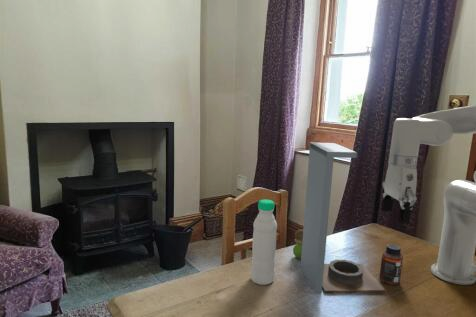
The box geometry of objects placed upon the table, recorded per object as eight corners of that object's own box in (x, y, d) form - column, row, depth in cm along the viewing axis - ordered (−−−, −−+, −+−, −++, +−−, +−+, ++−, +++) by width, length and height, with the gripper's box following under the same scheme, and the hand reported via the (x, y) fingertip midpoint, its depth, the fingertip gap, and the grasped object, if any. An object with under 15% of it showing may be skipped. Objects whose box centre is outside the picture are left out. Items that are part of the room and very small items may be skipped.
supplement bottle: (401, 287, 106) (406, 252, 104) (381, 284, 108) (385, 249, 105) (397, 277, 112) (401, 243, 110) (377, 274, 113) (381, 241, 111)
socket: (361, 266, 118) (362, 255, 117) (384, 293, 103) (386, 280, 102) (309, 266, 117) (310, 255, 116) (324, 293, 101) (326, 281, 100)
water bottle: (258, 271, 112) (262, 196, 108) (277, 278, 108) (283, 200, 104) (246, 280, 107) (249, 201, 102) (266, 288, 103) (270, 206, 98)
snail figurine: (310, 263, 119) (312, 229, 117) (291, 259, 121) (293, 226, 119) (312, 256, 124) (314, 224, 122) (293, 253, 126) (296, 221, 124)
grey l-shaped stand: (323, 265, 118) (334, 143, 110) (342, 294, 101) (356, 152, 93) (300, 265, 117) (309, 142, 109) (315, 294, 100) (327, 151, 93)
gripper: (432, 167, 95) (423, 227, 98) (399, 156, 112) (392, 207, 115) (406, 166, 94) (397, 226, 98) (376, 154, 111) (370, 206, 114)
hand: (394, 216), depth 106 cm, fingers open, 9 cm apart
